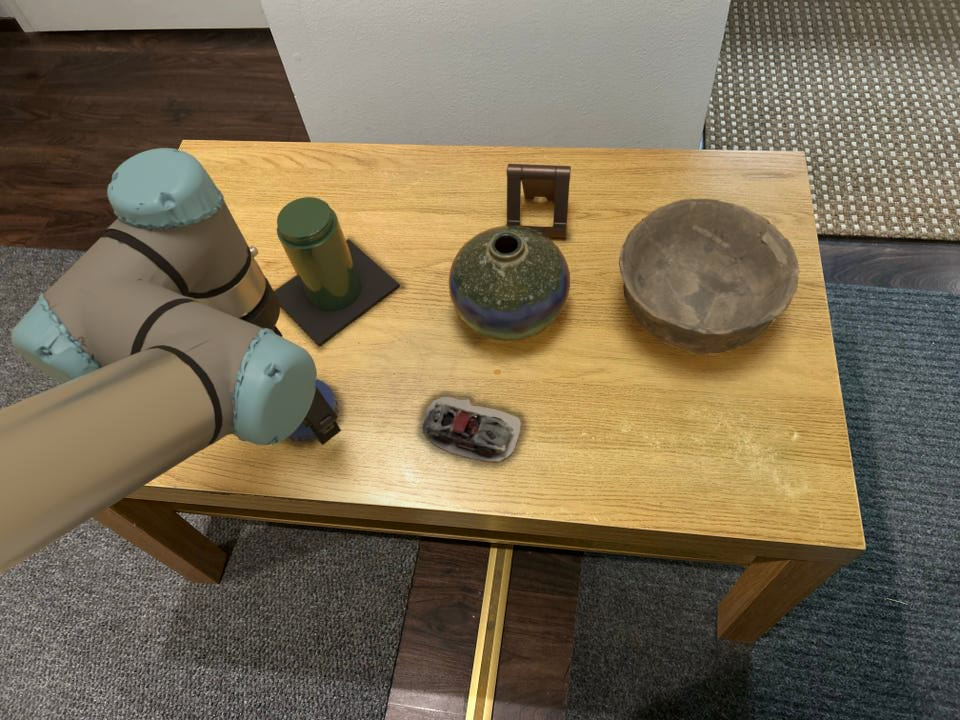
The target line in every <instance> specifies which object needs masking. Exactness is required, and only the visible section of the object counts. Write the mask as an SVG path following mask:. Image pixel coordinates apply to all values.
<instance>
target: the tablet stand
mask: <svg viewBox="0 0 960 720" xmlns="http://www.w3.org/2000/svg"><path fill="white" fill-rule="evenodd" d="M571 170H572V166H571V165H554V164H527V163H526V164H525V163H508V164H507V167H506V173H505V174H506V224H505V225H504V226H522V227H526V228H530V229H533V230H535V231H538V232H539V233H541V234H543V235H545V236H546V237H548V238H557V239H559V238H561V239H565V238H567V230H568V214H569V213H568V212H569V198H570V197H569V196H570V183H571V172H572V171H571ZM522 191H523V197H524V200H526V201H534V200H535V198H545V199H546V200H547V201H548V202H553V221H552V223H553V224H552V226H539V225H538V226H537V225H521V207H522V205H521V204H522V203H521V201H522V200H521V199H522V197H521V196H522Z"/></svg>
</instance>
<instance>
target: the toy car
mask: <svg viewBox="0 0 960 720" xmlns="http://www.w3.org/2000/svg"><path fill="white" fill-rule="evenodd" d="M424 416H425V417H424V420H423V424H422V427H421V429H422V433H423V435H424V436H425V438H427V440H429V442H430V443H432V444H433V445H434V446H436V447H437V448H440V449H442V450H445V451H446V452H450V453H451V454H455V455H459V456H461V457H465V458H469V459H474V460H481V461H484V462H494V463H495V462H501V461H503V460H505V459H507V458H509V457H510V455H511V454H512V453H513V452H514V450H515V448H516V445H517V443H518V440H519V436H520V433H521V427H522V422H521V421H522V420H521V419H520V417H519V416H516V415H513V414H510V413H509V412H505V411H502V410H498V409H495V408H489V407H484V406H480V405H473V404H472V403H471V400H470V399H469V398H467V399H460V398H455V397H449V396H442V397H438V398H436V399H434V400H433V401H432V402H431V404H429V405H428V406H427V408H426V410H425V415H424Z"/></svg>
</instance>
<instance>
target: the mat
mask: <svg viewBox="0 0 960 720" xmlns="http://www.w3.org/2000/svg"><path fill="white" fill-rule="evenodd" d="M345 240H346V242H347V245H348V248H349V250H350V253H351V256H352V258H353V261H354V264H355V267H356V269H357V272H358V275H359V277H360V280H361V292H360V294H359V296H358V297H357V299H356V300H355V301H354V302H353V303H352V304H351V305H349V306H348V307H346V308H344V309H341V310H337V311H323V310H320V309H318V308H316V307H314V306H313V305H312V304H311V302H310V301H309V299H308V297H307V295H306V293H305V291H304V289H303V287H302V285H301V283H300V281H299V279H298V276H297V274H295V276H293V277H292V278H291V279H289V280H288V281H286V282H285V283H283V284H282V285H280V286H279V287H278V288H276V289H275V290H274V292H275V294H276V296H277V298H278V300H279V303H280V308H281V309H282V310H283V311H284V312H285V313H286V314H287V315H288V316H289V317H290V318H291V319H292V320H293V321H294V322H295V323H296V324H297V325H298V326H299V327H300V328H301V329H302V330H303V332H304V333H306V334H307V336H308V337H309V338H310V339H311V340H312V341H313V342H314V343H315V344H316V345H317V346H318V347H321V346H322V345H324V344H325V343H326V342H328V341H329V340H331V339H332V338H334V337H335V336H336V335H337V334H339V333H340V332H342V331H343V330H344V329H346V328H347V327H349V325H351V324H352V323H354V322H355V321H356V320H358V319H359V318H360V317H361V316H363V315H364V314H365V313H367V312H368V311H369V310H371V309H372V308H373V307H375V306H376V305H378V304H379V303H380V302H382V301H383V300H384V299H386V298H387V297H388V296H389V295H391V294H393V293H394V292H395V291H396V290H397V289H400V287H401V285H400V282H398V281H397V280H396V279H394V277H392V276H391V275H390V274H389V273H388V272H387V271H386V270H384V269H383V268H382V267H381V266H380V265H378V264H377V262H375V260H373V259H372V258H371V257H370V256H369V255H367V254H366V253H365V252H364V251H363V250H362V249H361V248H360V247H358V246H357V245H356V244H355V243H354V242H353V241H351V240H350V239H349V238H348V239H345Z"/></svg>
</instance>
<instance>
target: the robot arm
mask: <svg viewBox="0 0 960 720" xmlns="http://www.w3.org/2000/svg"><path fill="white" fill-rule="evenodd" d="M106 190H107V192H106V195H107V198H108V202H109V203H110V206H111V207H112V210H113V214H114V215H115V216H116V217H117V218H116V219H115V220H114V221H113V222H112V223H111V224H110V225H109V226H108V227H107V228H106V229H105V231H104V234H103V235H102V236H101V237H100V238H99V239H98V240H96V242H95V243H94V244H93V245H92V246H91V247H90V248H88V250H86V251H85V252H84V254H82V255H81V257H80V258H79V259H78V260H76V261H75V262H74V264H72V266H70V267H69V269H67V271H66V272H65V273H64V274H62V275H61V276H60V278H58V280H56V281H55V283H53V285H51V286H50V288H48V289H47V290H46V291H45V292H44V291H43V292H42V293H41V294H39V296H38V300H37V301H36V302H35V304H33V306H32V307H31V308H30V309H29V310H28V311H27V312H26V314H24V315H23V316H22V318H21V320H20V321H19V322H18V323H17V324H16V325H15V326H14V328H13V329H12V331H11V334H10V338H11V344H12V346H13V348H14V349H15V351H16V352H17V353H18V354H19V355H20V356H21V357H23V359H25V361H27V362H28V363H30V364H31V365H33V366H34V367H35V368H36V369H38V370H39V371H41V372H42V373H44V374H45V375H46V376H48V377H50V378H51V379H53V380H55V381H56V382H57V383H59V385H57V386H54V387H51V388H49V389H46V390H44V391H42V392H40V393H37V394H34V395H33V396H30V397H27V398H24V399H22V400H20V401H17V402H15V403H13V404H11V405H8V406H5V407H3V408H1V409H0V576H1V575H2V574H4V573H5V572H7V571H9V570H10V569H12V568H14V567H15V566H16V565H17V566H18V564H20V563H22V562H24V561H25V560H27V559H28V558H30V557H31V556H33V555H35V554H36V553H38V552H39V551H41V550H43V549H45V548H46V547H47V546H49V545H51V544H52V543H54V542H55V541H57V540H59V539H60V538H62V537H63V536H65V535H67V534H68V533H70V532H71V531H73V530H75V529H76V528H78V527H79V526H81V525H83V524H85V523H86V522H88V521H89V520H91V519H93V518H95V517H96V516H98V514H101V513H102V512H104V511H106V510H107V509H108V508H110V507H112V506H113V505H115V504H117V503H118V502H120V501H122V500H123V499H124V498H126V497H128V496H129V495H131V494H132V493H135V492H137V491H138V490H139V489H141V488H143V487H144V486H146V485H148V484H149V483H151V482H152V481H154V480H156V479H157V478H159V477H160V476H162V475H164V474H165V473H167V472H168V471H170V470H172V469H173V468H175V467H177V466H178V465H179V464H182V463H183V462H184V461H186V460H188V459H189V458H191V457H193V456H195V454H197V453H199V452H201V451H203V450H205V449H207V448H208V447H210V446H212V445H214V444H216V443H217V442H219V441H220V440H221V439H223V438H225V437H226V436H228V435H229V436H230V435H234V436H235V437H236V438H238V440H239V441H241V442H248V443H251V444H254V445H256V446H269V445H273V446H274V445H278V444H280V443H282V442H283V441H285V440H287V437H289V436H290V435H291V434H292V433H293V432H294V431H295V430H296V429H297V428H298V426H299V425H300V424H301V423H302V424H303V426H304V427H305V428H306V429H307V428H308V427H310V428H311V430H312V431H313V433H314V434H315V436H316V437H317V441H318V442H319V443H320V444H321V445H322V446H324V445H326V443H328V442H329V441H330V440H332V438H334V437H336V435H338V434H339V433H340V432H342V429H341V428H340V425H339V424H338V422H337V421H336V420H337V419H338V418H339V416H338V414H337V413H336V412H335V411H333V409H332V408H331V407H330V405H329V404H328V402H327V401H326V400H325V398H324V397H323V395H322V394H321V393H320V391H319V390H318V388H317V387H316V386H315V383H316V379H317V377H318V372H317V365H316V363H315V361H314V359H313V357H312V355H311V354H310V353H309V351H308V350H306V349H305V348H303V346H300V345H299V344H296V343H294V342H293V341H291V340H288V339H286V338H285V337H283V333H282V332H281V331H280V330H279V328H278V327H277V326H276V325H277V324H278V321H279V318H280V314H281V306H280V303H279V300H278V298H277V296H276V294H275V292H274V291H275V290H274V288H273V287H272V285H271V283H270V282H269V280H268V278H267V277H266V276H265V274H264V272H263V270H262V268H261V266H260V265H259V263H258V261H257V260H256V259H255V257H257V256H258V255H259V250H258V248H257V247H255V246H254V245H250V246H249V244H248V243H247V241H246V238H245V237H244V236H243V233H242V231H241V230H240V227H239V225H238V223H237V222H236V220H235V218H234V216H233V214H232V212H231V211H230V209H229V207H228V205H227V203H226V202H225V201H226V200H225V197H224V195H223V193H222V191H221V189H219V188H218V186H217V185H216V183H215V182H214V180H213V179H212V177H211V176H210V174H209V173H208V171H207V170H206V168H205V167H204V166H203V165H202V163H201V162H200V161H199V160H198V159H197V158H196V156H194V155H192V154H190V153H188V152H186V151H184V150H180V149H177V148H170V147H160V148H159V147H158V148H152V149H148V150H144V151H142V152H139V153H137V154H135V155H133V156H131V157H129V158H128V159H126V160H125V161H123V162H122V163H121V164H120V165H119V166H118V167H117V168H116V169H115V171H114V172H113V173H112V175H111V182H110V183H109V184H108V186H107V189H106ZM304 419H305V421H304V422H302V421H303V420H304Z"/></svg>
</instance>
